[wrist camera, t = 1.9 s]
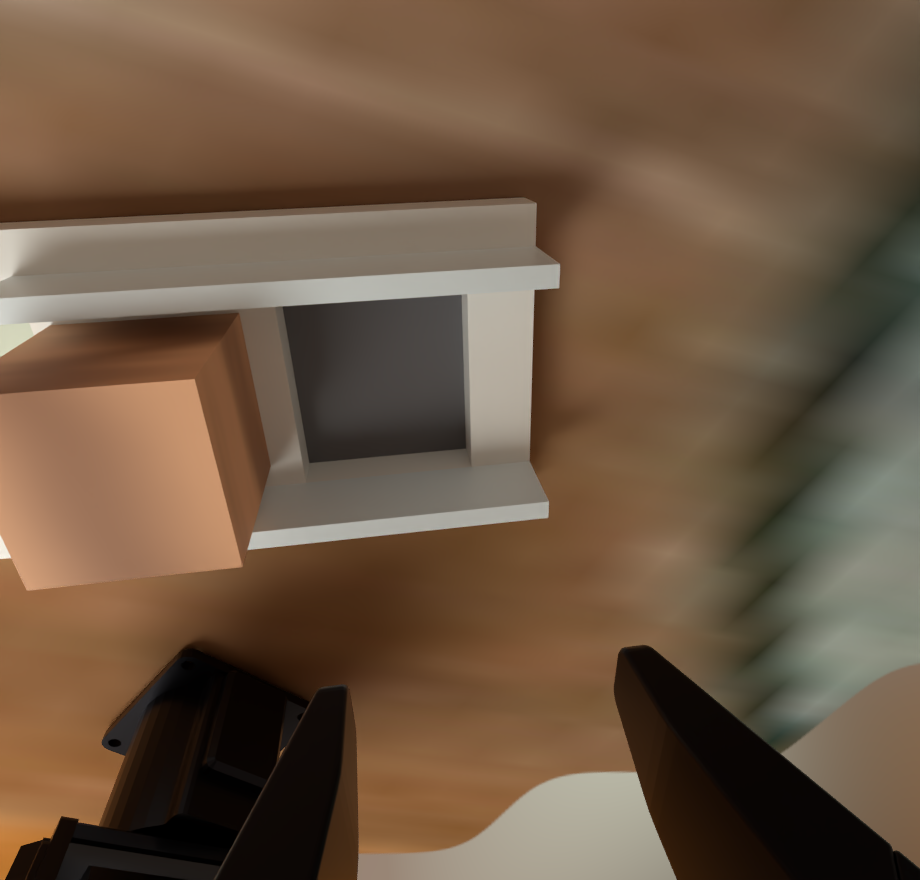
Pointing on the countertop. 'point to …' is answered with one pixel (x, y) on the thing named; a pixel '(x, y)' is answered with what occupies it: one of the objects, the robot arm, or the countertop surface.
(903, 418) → the countertop surface
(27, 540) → the block
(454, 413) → the channel
